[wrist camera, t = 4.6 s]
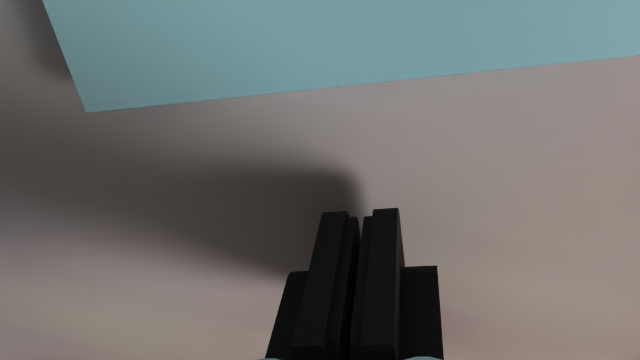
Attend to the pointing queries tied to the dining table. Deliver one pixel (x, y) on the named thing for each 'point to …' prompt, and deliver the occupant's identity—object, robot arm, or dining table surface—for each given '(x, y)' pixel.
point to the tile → (318, 43)
